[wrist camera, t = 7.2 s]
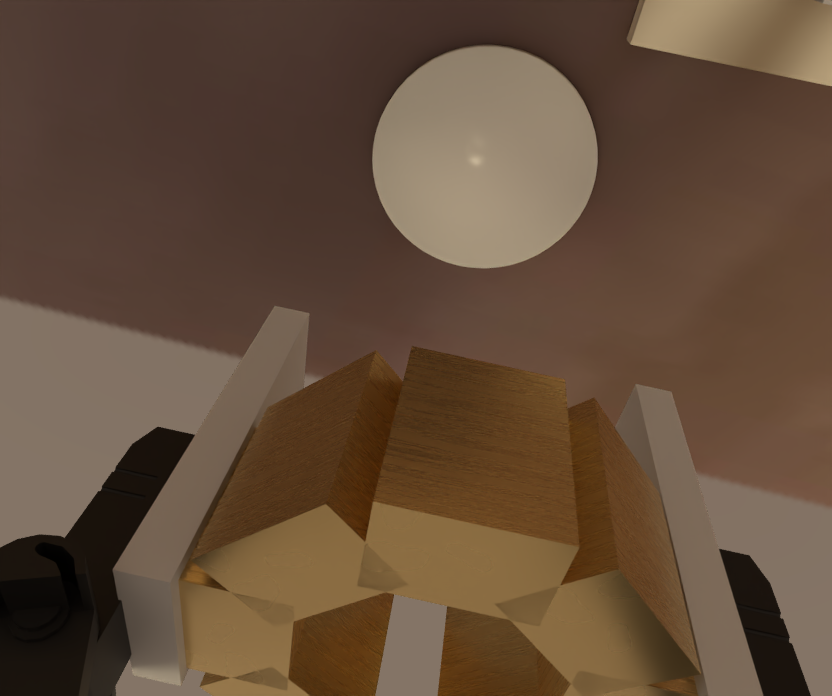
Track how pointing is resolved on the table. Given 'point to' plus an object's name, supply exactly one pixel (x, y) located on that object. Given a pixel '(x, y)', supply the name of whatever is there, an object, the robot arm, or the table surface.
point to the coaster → (485, 156)
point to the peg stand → (742, 34)
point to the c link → (437, 542)
